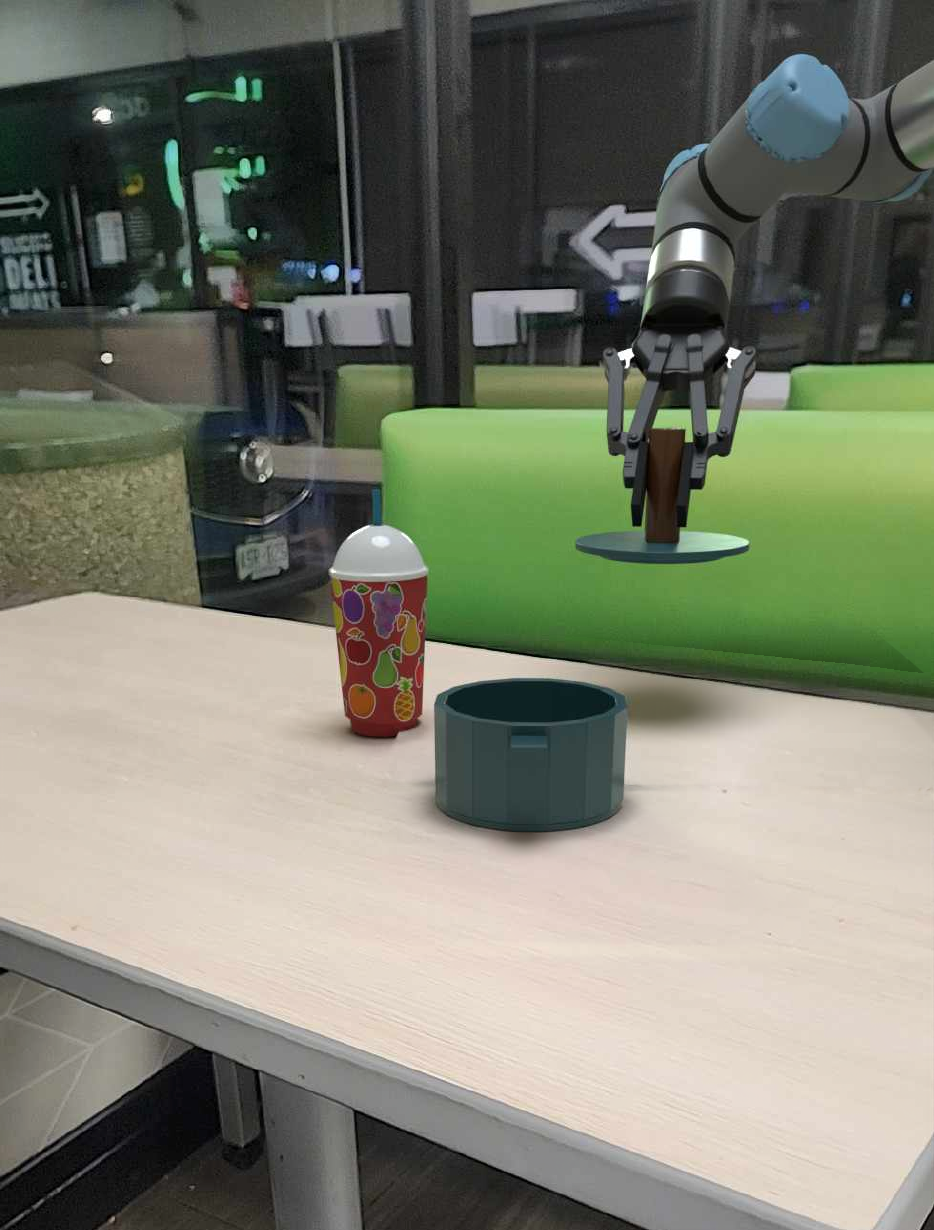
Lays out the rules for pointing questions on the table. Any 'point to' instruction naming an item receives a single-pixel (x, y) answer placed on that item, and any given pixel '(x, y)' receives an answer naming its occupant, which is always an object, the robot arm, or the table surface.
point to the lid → (663, 517)
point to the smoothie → (380, 627)
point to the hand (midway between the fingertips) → (658, 515)
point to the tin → (530, 753)
